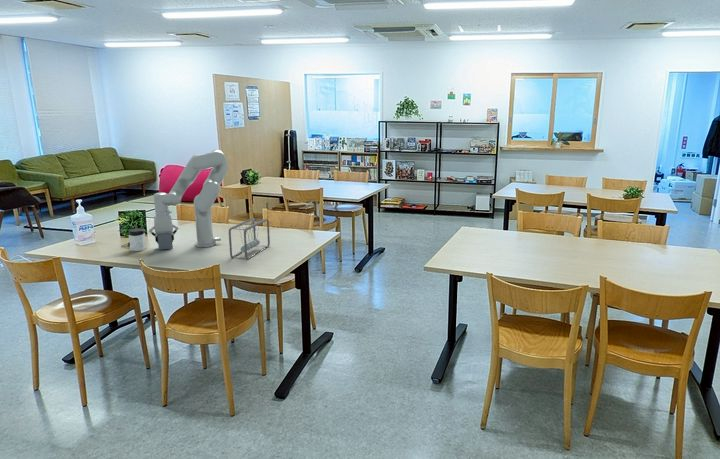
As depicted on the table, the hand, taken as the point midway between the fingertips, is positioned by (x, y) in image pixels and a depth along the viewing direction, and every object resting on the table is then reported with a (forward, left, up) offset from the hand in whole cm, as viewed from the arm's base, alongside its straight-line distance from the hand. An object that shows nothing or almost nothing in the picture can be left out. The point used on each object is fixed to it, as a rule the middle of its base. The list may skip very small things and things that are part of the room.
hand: (165, 241), depth 300 cm
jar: (+15, -4, -4) cm, 16 cm away
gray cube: (0, 0, -3) cm, 3 cm away
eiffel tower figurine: (+18, -16, -5) cm, 25 cm away
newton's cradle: (-45, +29, -4) cm, 54 cm away
